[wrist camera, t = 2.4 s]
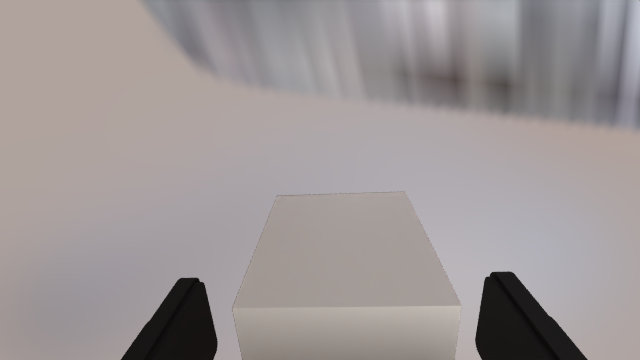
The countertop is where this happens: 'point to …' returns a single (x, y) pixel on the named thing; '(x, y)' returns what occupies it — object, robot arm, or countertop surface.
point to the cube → (346, 283)
